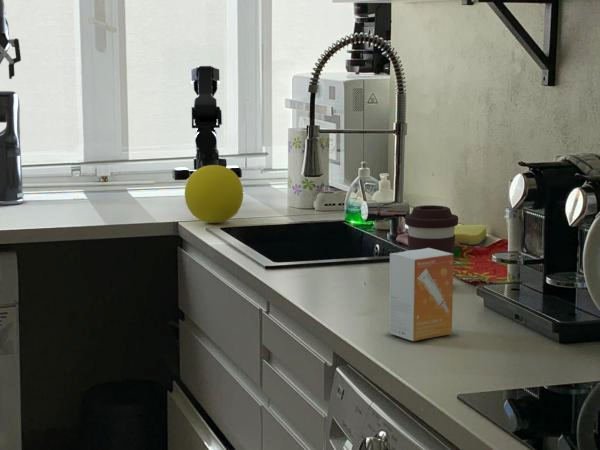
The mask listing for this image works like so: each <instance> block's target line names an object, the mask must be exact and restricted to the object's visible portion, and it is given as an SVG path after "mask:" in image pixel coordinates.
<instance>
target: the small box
mask: <svg viewBox="0 0 600 450" xmlns="http://www.w3.org/2000/svg"><path fill="white" fill-rule="evenodd" d="M454 256H455V253H454V254H452V253H447V252H444V251H440V250H436V249H431V248H425V249H419V250H409V251H408V250H405V251H399V252H393V253H392V252H391V253H389V294H388V295H389V299H388V312H389V313H388V334H390V335H393V336H395V337H396V336H397V337H399V338H402V339H405V340H408V341H411V342H417V341H420V340H427V339H431V338H436V337H442V336H447V335H448V336H449V335H452V334H453V302H454V301H453V300H454V299H453V297H454V263H455V261H454V260H455V259H454V258H455V257H454Z"/></svg>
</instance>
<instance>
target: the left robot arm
mask: <svg viewBox="0 0 600 450" xmlns="http://www.w3.org/2000/svg"><path fill="white" fill-rule="evenodd" d="M10 45H11V47H12V48H14V52H15V57H14V58H12V57H11V55H10V54H9V53H8V51H9V49H10ZM4 59H5V60H6V61H7V62H8V79H9V80H12V79H13V78H14V77H15V75H16V73H15V64H17V63H19V62H21V60H22V57H21V47H20V40H19V39H18V38H10V29H9V22H8V20H7V17H6V8H5V1H4V0H0V65H2V63H3V61H4ZM20 112H21V103H20V98H19V95H18V93H17V92H16V91H13V90H8V91H7V90H0V123H1V124H3V123H6V124H5V128H4V129H2V130H1V131H0V206H11V205H21V204H23V203H24V202H25V201H24V199H25V198H24V197H25V192H24V187H23V170H22V169H23V168H22V167H23V166H22V151H21V113H20Z"/></svg>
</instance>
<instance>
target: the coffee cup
mask: <svg viewBox="0 0 600 450" xmlns="http://www.w3.org/2000/svg"><path fill="white" fill-rule="evenodd" d="M404 225H406V226H407V227H408V228H407V230H408V233H407V251H409V250H419V249H425V248H431V249H436V250H440V251H444V252H447V253H452V254H454V255H455V244H456V243H455V242H456V235H455V229H456V228H455V227H456V226H458V225H459V216H458V215H456V214H453V213H452V211H451V208H450V207H448V206H444V205H437V204H436V205H434V204H433V205H431V204H429V205H426V204H425V205H418V206H414V207H413V208H412V210H411V213H408V214H406V215H405V216H404Z"/></svg>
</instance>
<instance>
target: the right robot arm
mask: <svg viewBox="0 0 600 450" xmlns="http://www.w3.org/2000/svg"><path fill="white" fill-rule="evenodd" d="M190 83H191V84H193V91H194V92H195V94H196V96H197V97H195V98H194V99H193V106H191V129H196V131H195V141H194V142H195V148H196V149H195V157H194V158H193V170H192V169H189V168H187V167H174V168H173V169H172V179H173V180H174V181H186V182H187V181H188V179H189V177H190V176H191V175H192V173H193V172H195V171H196V170H197V169H199V168H201V167H204V166H209V165H219V166H224V167H227V168H229V169H230V170H232V171H233V172H234V173H235V174H236V175H237V176H238V178H239V179H240V178H243V175H242V174H243V172H242V169H241V167H239V166H238V165H228V164H227V159H226V158H222V157H220V154H219V153H220V151H219V149H218V139H217V138H218V137H217V130H216V129H220V128H221V126H222V125H223V118H222V116H223V115H222V109H221V107H220V106H218V105H217V98H215V97H214V96H215V95H216V93H217V91H218V84H220V83H221V82H220V69H219V68H217V67H214V66H212V65H198V66H195V68H192V69H190Z"/></svg>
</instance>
